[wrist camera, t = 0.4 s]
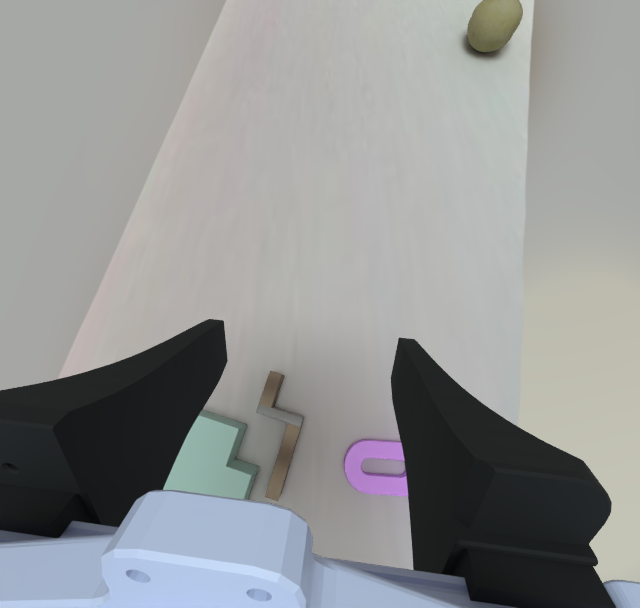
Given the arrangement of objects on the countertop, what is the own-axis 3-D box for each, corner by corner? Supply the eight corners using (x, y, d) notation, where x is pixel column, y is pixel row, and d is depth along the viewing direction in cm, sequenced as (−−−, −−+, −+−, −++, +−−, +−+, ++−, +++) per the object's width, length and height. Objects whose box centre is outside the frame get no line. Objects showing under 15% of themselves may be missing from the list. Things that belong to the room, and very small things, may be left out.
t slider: (244, 511, 36) (234, 526, 32) (150, 477, 37) (130, 488, 33) (269, 432, 39) (263, 437, 35) (180, 402, 40) (165, 404, 36)
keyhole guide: (280, 494, 37) (277, 501, 34) (134, 442, 38) (121, 446, 36) (313, 385, 40) (313, 384, 38) (178, 342, 42) (169, 338, 39)
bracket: (451, 444, 38) (478, 455, 32) (453, 495, 37) (483, 518, 30) (344, 437, 38) (349, 446, 32) (343, 488, 37) (347, 509, 30)
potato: (500, 68, 55) (529, 16, 47) (456, 58, 56) (477, 4, 48) (507, 39, 57) (536, -17, 49) (464, 29, 58) (486, -27, 50)
